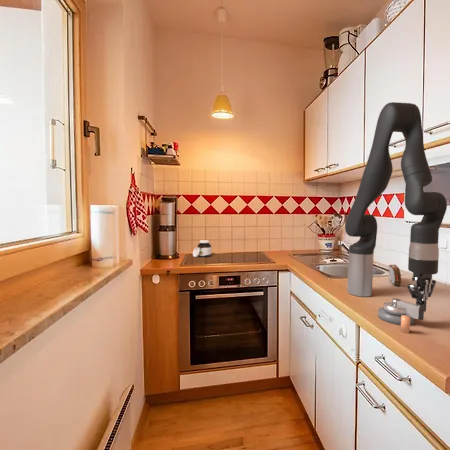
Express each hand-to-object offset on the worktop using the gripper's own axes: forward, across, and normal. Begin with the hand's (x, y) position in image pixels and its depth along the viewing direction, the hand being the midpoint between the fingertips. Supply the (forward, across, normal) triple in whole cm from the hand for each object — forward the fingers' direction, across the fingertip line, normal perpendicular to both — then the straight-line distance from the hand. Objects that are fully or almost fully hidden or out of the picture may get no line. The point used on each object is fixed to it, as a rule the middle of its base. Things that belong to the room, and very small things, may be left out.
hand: (420, 311), depth 86 cm
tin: (+4, -39, -29) cm, 49 cm away
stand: (+4, +5, -3) cm, 7 cm away
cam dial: (+1, +3, -4) cm, 5 cm away
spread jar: (+4, +11, -137) cm, 138 cm away
